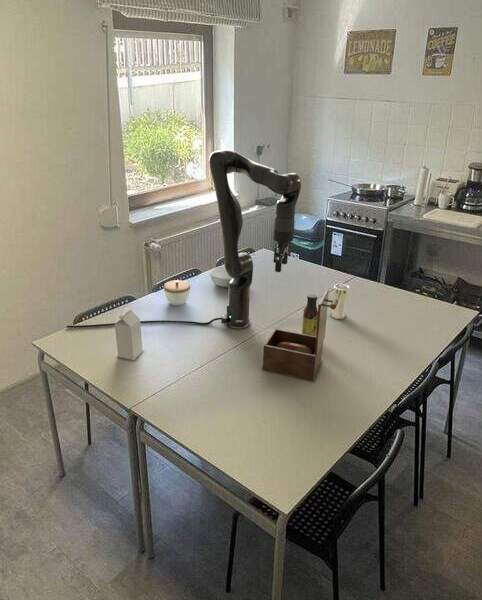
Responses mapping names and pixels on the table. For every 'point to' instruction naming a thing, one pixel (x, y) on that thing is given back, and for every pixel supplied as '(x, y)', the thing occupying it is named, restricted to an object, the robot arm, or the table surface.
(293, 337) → the chest
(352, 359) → the table surface
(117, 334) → the milk carton
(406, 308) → the table surface
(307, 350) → the tin
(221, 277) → the cereal bowl
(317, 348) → the lid
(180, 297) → the lidded bowl
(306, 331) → the sauce bottle
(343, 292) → the milkshake glass
